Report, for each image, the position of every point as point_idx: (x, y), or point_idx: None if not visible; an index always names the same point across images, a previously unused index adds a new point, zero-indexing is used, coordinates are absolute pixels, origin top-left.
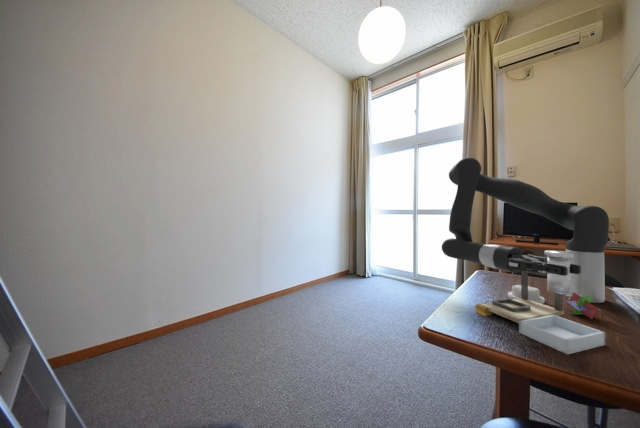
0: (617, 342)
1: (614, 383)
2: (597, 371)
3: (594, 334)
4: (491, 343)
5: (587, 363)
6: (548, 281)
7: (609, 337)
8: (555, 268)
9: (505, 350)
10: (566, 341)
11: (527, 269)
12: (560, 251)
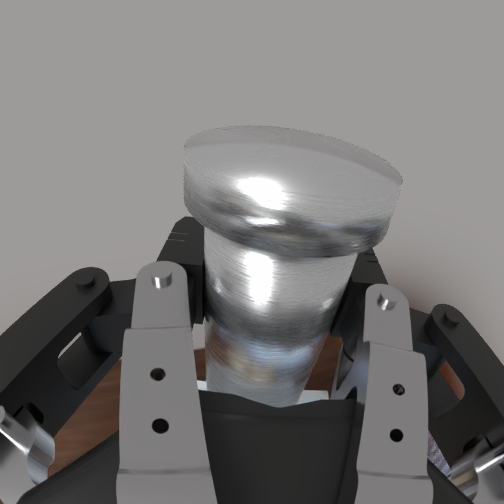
0: (118, 381)
1: (337, 337)
2: (326, 359)
3: (205, 382)
4: (445, 473)
5: (313, 377)
6: (305, 384)
7: (97, 395)
8: (372, 259)
9: (437, 446)
10: (327, 393)
11: (452, 394)
12: (239, 146)
